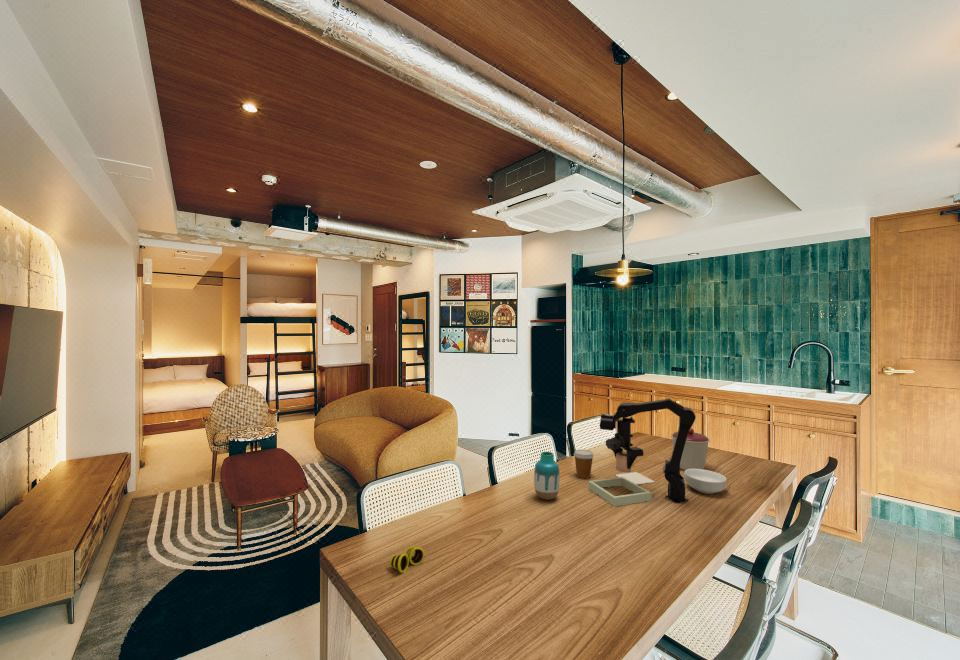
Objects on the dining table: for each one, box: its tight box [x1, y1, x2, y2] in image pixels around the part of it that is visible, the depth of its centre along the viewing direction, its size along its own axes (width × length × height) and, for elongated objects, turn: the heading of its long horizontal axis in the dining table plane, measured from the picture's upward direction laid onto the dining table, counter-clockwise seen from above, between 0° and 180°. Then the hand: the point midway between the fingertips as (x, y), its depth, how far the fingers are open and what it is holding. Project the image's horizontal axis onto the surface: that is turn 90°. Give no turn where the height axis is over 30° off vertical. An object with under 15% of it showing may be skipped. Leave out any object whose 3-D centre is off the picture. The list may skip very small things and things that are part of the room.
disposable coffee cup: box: [573, 448, 595, 479], centre depth 195 cm, size 10×10×12 cm
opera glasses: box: [389, 546, 425, 574], centre depth 121 cm, size 10×5×5 cm, turn 137°
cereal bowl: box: [683, 469, 728, 495], centre depth 180 cm, size 17×17×7 cm
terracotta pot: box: [615, 451, 632, 473], centre depth 179 cm, size 6×6×7 cm
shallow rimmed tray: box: [588, 477, 652, 507], centre depth 174 cm, size 18×18×4 cm
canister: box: [670, 427, 711, 471], centre depth 208 cm, size 18×18×21 cm
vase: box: [533, 451, 561, 501], centre depth 170 cm, size 11×11×19 cm
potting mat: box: [615, 471, 656, 486], centre depth 193 cm, size 13×13×1 cm
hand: (623, 466), depth 179 cm, fingers closed on terracotta pot, 6 cm apart
